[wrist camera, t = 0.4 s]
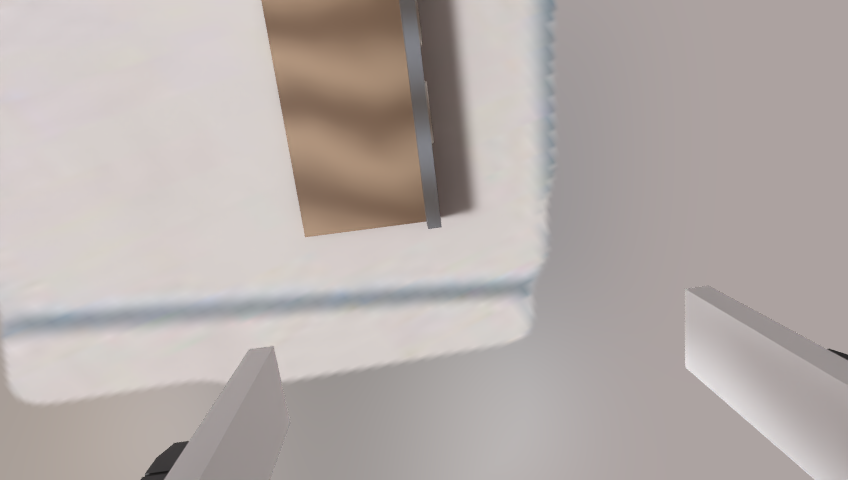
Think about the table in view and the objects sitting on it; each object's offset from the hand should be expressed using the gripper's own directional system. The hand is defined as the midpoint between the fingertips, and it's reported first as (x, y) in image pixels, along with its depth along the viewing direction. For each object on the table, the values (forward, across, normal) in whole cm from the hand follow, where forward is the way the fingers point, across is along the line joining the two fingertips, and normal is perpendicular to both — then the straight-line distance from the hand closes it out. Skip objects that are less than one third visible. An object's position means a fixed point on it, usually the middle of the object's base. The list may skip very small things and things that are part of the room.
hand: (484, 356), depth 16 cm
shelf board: (+26, -5, +9) cm, 28 cm away
